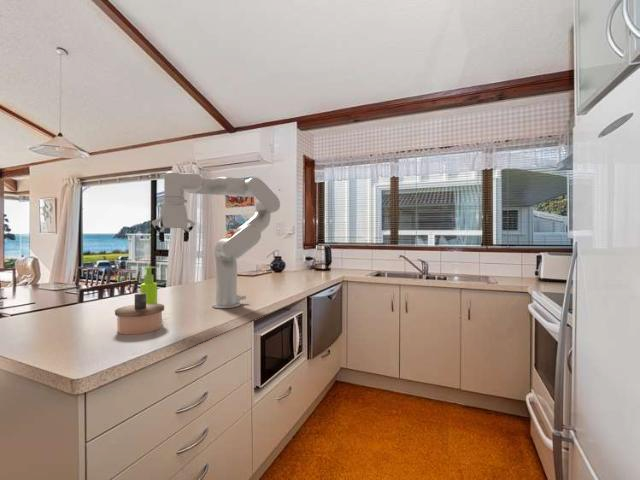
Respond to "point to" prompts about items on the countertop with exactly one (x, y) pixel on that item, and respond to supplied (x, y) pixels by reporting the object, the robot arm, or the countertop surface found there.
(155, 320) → the terracotta bowl
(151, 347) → the countertop surface
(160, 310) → the walnut lid
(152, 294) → the soap dispenser
